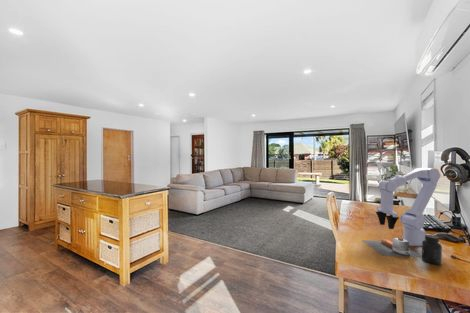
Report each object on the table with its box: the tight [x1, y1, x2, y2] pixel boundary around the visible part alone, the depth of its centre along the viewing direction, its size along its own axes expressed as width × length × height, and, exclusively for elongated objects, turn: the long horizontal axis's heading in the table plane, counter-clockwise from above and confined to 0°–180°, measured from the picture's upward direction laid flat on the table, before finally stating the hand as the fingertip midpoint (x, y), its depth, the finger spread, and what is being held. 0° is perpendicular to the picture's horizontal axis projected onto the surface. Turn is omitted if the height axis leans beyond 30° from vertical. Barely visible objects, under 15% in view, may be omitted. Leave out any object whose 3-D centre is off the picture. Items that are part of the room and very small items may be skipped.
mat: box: [361, 239, 422, 258], centre depth 115 cm, size 20×20×1 cm
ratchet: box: [380, 238, 410, 257], centre depth 114 cm, size 7×17×4 cm, turn 177°
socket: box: [392, 237, 410, 251], centre depth 109 cm, size 5×5×5 cm
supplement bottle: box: [421, 234, 443, 266], centre depth 100 cm, size 7×7×12 cm
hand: (386, 226), depth 122 cm, fingers open, 7 cm apart
